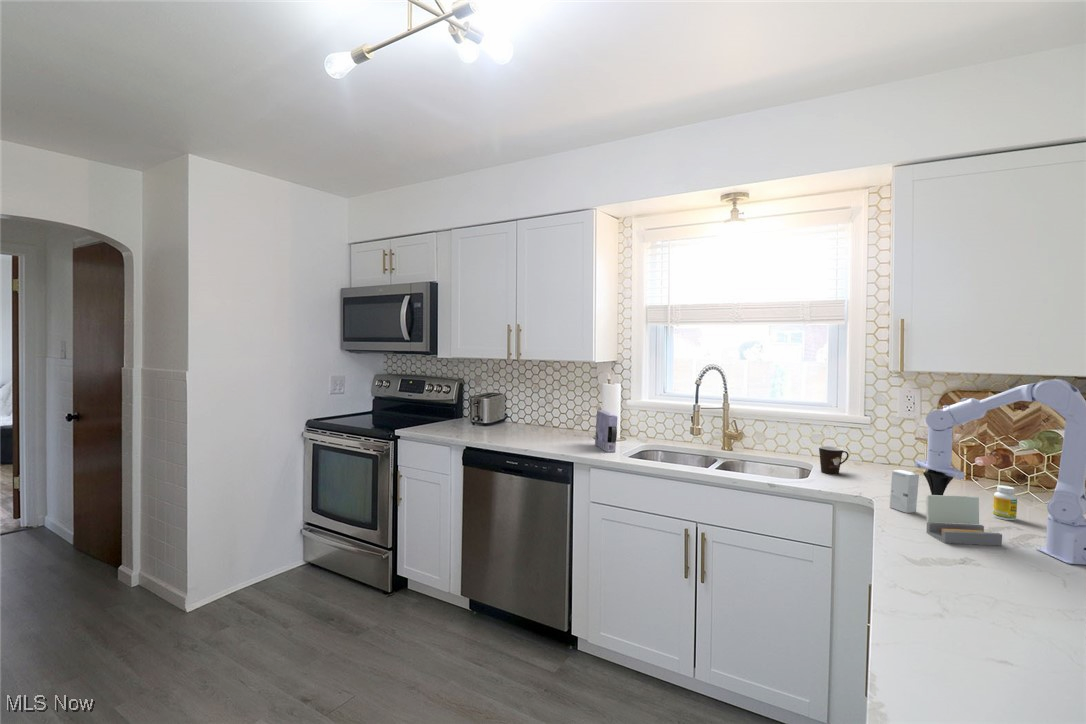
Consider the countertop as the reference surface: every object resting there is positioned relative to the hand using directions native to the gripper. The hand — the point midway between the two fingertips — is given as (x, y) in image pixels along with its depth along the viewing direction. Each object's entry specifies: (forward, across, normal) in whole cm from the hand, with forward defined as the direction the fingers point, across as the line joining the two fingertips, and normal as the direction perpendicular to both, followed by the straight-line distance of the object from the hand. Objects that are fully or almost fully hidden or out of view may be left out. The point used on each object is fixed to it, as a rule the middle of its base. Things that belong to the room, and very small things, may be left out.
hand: (936, 497), depth 152 cm
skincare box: (+8, +14, -2) cm, 16 cm away
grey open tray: (+8, -11, +2) cm, 14 cm away
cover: (+1, -7, +1) cm, 7 cm away
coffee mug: (+8, +61, -12) cm, 62 cm away
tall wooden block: (+8, -11, +2) cm, 14 cm away
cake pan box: (+9, +111, +70) cm, 132 cm away
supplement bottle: (+8, +4, -28) cm, 29 cm away
